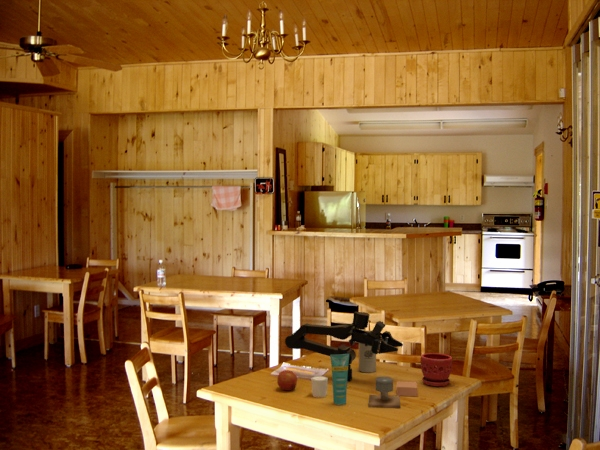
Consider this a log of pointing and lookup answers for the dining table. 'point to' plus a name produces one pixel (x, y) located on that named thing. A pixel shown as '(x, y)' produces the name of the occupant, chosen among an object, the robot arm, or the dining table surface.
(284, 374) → the apple
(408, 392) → the stand
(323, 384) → the shot glass
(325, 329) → the robot arm
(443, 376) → the plant pot
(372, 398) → the square base plate
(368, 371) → the travel mug
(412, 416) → the dining table surface
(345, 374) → the tube
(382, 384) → the cap
